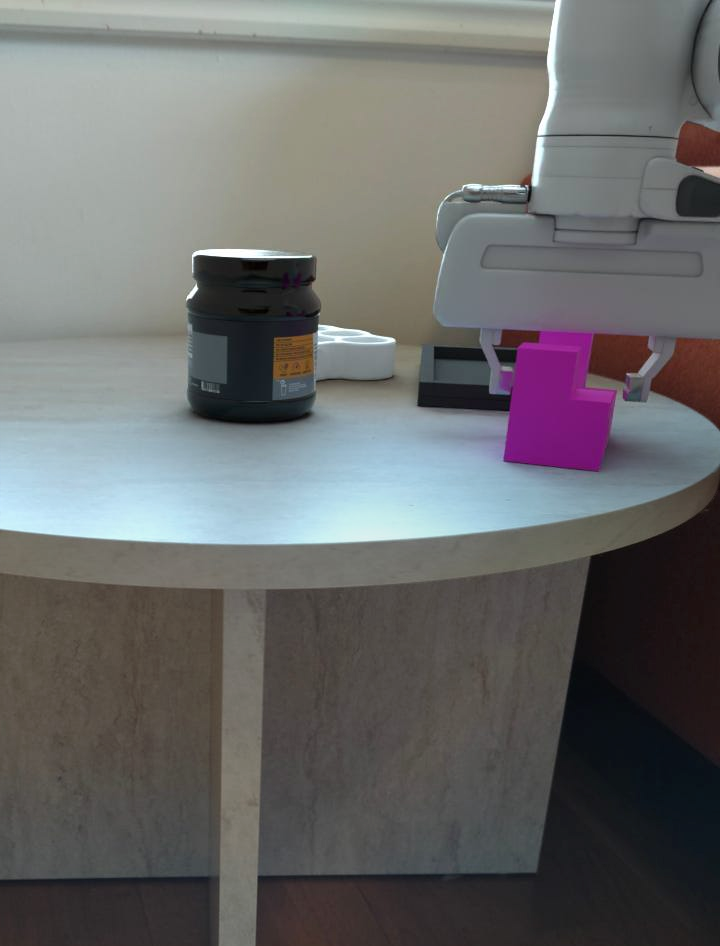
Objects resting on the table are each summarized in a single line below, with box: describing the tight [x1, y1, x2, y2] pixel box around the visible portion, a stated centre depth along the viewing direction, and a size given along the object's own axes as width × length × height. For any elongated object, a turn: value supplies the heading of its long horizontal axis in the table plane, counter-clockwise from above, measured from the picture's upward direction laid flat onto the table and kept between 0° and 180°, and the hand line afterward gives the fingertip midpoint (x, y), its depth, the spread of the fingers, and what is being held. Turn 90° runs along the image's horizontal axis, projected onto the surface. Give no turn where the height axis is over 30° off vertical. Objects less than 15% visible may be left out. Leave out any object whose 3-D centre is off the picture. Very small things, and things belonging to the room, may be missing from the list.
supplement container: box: [185, 248, 322, 423], centre depth 80 cm, size 10×10×12 cm
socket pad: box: [416, 343, 518, 411], centre depth 94 cm, size 11×21×2 cm, turn 170°
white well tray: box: [316, 324, 397, 382], centre depth 101 cm, size 3×18×15 cm
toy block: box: [503, 331, 618, 472], centre depth 73 cm, size 15×6×8 cm, turn 158°
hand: (566, 396), depth 73 cm, fingers open, 8 cm apart
